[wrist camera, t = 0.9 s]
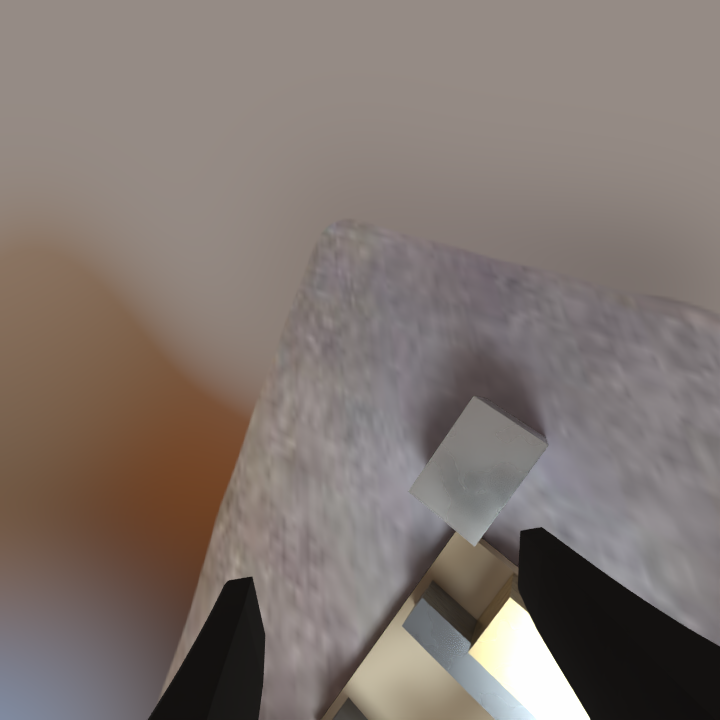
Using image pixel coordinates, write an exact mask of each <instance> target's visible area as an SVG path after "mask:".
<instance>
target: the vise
mask: <svg viewBox="0 0 720 720" xmlns="http://www.w3.org/2000/svg"><path fill="white" fill-rule="evenodd" d="M518 570H519V568H518V567H517V566H516V565H514V564H513V563H512V562H511V561H509V560H508V559H507V558H506V557H504V556H503V555H502V554H501V553H500V552H498V551H497V550H496V549H495V548H493V547H492V546H491V545H490V544H488V543H487V542H486V541H485V540H484V539H482V538H481V539H480V540H479V541H478V543H477V544H476V546H475V547H474V546H473V545H472V544H471V543H470V542H468V541H467V540H466V539H465V538H464V537H462V536H461V535H460V534H459V533H458V532H455V533H454V535H453V536H452V537H451V539H450V540H449V541H448V543H447V544H446V546H445V547H444V548H443V550H442V551H441V553H440V554H439V555H438V557H437V558H436V560H435V561H434V562H433V564H432V565H431V567H430V568H429V569H428V571H427V572H426V574H425V575H424V576H423V578H422V579H421V581H420V582H419V583H418V585H417V586H416V588H415V589H414V590H413V592H412V593H411V595H410V596H409V597H408V599H407V600H406V602H405V603H404V604H403V606H402V607H401V609H400V610H399V611H398V613H397V614H396V616H395V617H394V618H393V620H392V621H391V623H390V624H389V625H388V627H387V628H386V630H385V631H384V632H383V634H382V635H381V637H380V638H379V639H378V641H377V642H376V644H375V645H374V646H373V648H372V649H371V651H370V652H369V653H368V655H367V656H366V658H365V659H364V660H363V662H362V663H361V664H360V666H359V667H358V669H357V670H356V671H355V673H354V674H353V676H352V677H351V678H350V680H349V681H348V683H347V684H346V685H345V687H344V688H343V690H342V691H341V692H340V694H339V695H338V697H337V698H336V699H335V701H334V702H333V704H332V705H331V706H330V708H329V709H328V711H327V712H326V713H325V715H324V716H323V718H322V719H321V720H495V719H494V718H493V717H492V716H491V715H490V714H489V713H488V712H487V711H486V710H485V709H484V708H483V707H482V706H481V705H480V704H479V703H478V702H477V701H476V700H475V699H474V698H473V697H472V696H471V695H470V694H469V693H468V692H467V691H466V690H465V689H464V688H463V687H462V686H461V685H460V684H459V683H458V682H457V681H456V680H455V679H454V678H453V677H452V676H451V675H450V674H449V673H448V672H447V671H446V670H445V669H444V668H443V667H442V666H441V665H440V664H439V663H438V662H437V661H436V660H435V659H434V658H433V657H432V656H431V655H430V654H429V653H428V652H427V651H426V650H425V649H424V648H423V647H422V646H421V645H420V644H419V643H418V642H417V641H416V640H415V639H414V638H413V637H412V636H411V635H410V634H409V633H408V632H407V631H406V630H405V629H404V628H403V627H402V625H403V623H404V622H405V620H406V618H407V617H408V615H409V613H410V612H411V610H412V609H413V607H414V605H415V604H416V603H417V601H418V600H419V598H420V597H421V596H422V594H423V593H424V592H425V590H426V589H427V587H428V586H429V585H430V583H431V582H432V580H433V581H434V582H436V583H437V584H438V585H439V586H440V587H441V588H442V589H443V590H444V591H445V592H446V593H448V594H449V595H450V596H451V597H452V598H453V599H454V600H455V601H456V602H457V603H459V604H460V605H461V606H462V607H463V608H464V609H465V610H466V611H467V612H468V613H470V614H471V615H472V616H473V617H474V618H475V619H476V620H478V619H479V617H480V616H481V615H482V613H483V612H484V611H485V609H486V608H487V607H488V605H489V604H490V603H491V601H492V600H493V599H494V597H495V596H496V595H497V593H498V592H499V591H500V589H501V588H502V587H503V585H504V584H505V583H506V581H507V580H508V579H509V577H510V576H511V575H512V573H513V572H514V573H515V574H517V575H518ZM589 720H590V719H589Z"/></svg>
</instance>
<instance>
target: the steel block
mask: <svg viewBox="0 0 720 720" xmlns="http://www.w3.org/2000/svg"><path fill="white" fill-rule="evenodd" d="M547 447H548V442H547V439H546V437H544V436H543V435H541V434H540V433H538V432H537V431H535V430H534V429H532V428H531V427H529V426H527V425H526V424H524V423H523V422H521V421H520V420H518V419H517V418H515V417H514V416H512V415H511V414H509V413H508V412H506V411H505V410H503V409H502V408H500V407H498V406H497V405H495V404H494V403H492V402H491V401H489V400H488V399H486V398H484V397H478V396H473V397H472V399H471V400H470V402H469V403H468V405H467V406H466V408H465V409H464V411H463V412H462V414H461V415H460V416H459V418H458V419H457V421H456V422H455V424H454V425H453V427H452V428H451V430H450V431H449V433H448V434H447V436H446V437H445V438H444V440H443V441H442V443H441V444H440V446H439V447H438V449H437V450H436V452H435V453H434V455H433V456H432V457H431V459H430V460H429V462H428V463H427V465H426V466H425V468H424V469H423V471H422V472H421V474H420V475H419V476H418V478H417V479H416V481H415V482H414V484H413V485H412V487H411V488H410V490H409V491H408V492H409V493H411V494H412V495H413V496H414V497H415V498H417V499H418V500H419V501H420V502H421V503H423V504H424V505H425V506H426V507H427V508H429V509H430V510H431V511H432V512H433V513H435V514H436V515H437V516H438V517H440V518H441V519H442V520H443V521H444V522H446V523H447V524H448V525H449V526H450V527H452V528H453V529H454V530H455V531H456V532H458V533H459V534H460V535H461V536H462V537H464V538H465V539H466V540H467V541H468V542H470V543H471V544H472V545H473V546H474V547H475V546H476V544H477V543H478V541H479V540H480V539H481V537H482V536H483V535H484V533H485V532H486V530H487V529H488V528H489V526H490V525H491V524H492V522H493V521H494V519H495V518H496V517H497V515H498V514H499V513H500V511H501V510H502V509H503V507H504V506H505V504H506V503H507V502H508V500H509V499H510V498H511V496H512V495H513V493H514V492H515V491H516V489H517V488H518V487H519V485H520V484H521V482H522V481H523V480H524V478H525V477H526V476H527V474H528V473H529V471H530V470H531V469H532V467H533V466H534V465H535V463H536V462H537V460H538V459H539V458H540V456H541V455H542V454H543V452H544V451H545V449H546V448H547Z"/></svg>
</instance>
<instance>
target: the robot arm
mask: <svg viewBox="0 0 720 720" xmlns="http://www.w3.org/2000/svg"><path fill="white" fill-rule="evenodd" d="M518 591H519V593H520V595H521V597H522V600H523V602H524V604H525V606H526V608H527V611H528V613H529V615H530V617H531V619H532V621H533V623H534V625H535V627H536V629H537V631H538V633H539V635H540V636H541V638H542V640H543V641H544V643H545V645H546V646H547V648H548V650H549V651H550V653H551V655H552V657H553V658H554V660H555V662H556V663H557V665H558V667H559V668H560V670H561V672H562V673H563V675H564V677H565V678H566V680H567V682H568V683H569V685H570V687H571V688H572V690H573V692H574V693H575V695H576V697H577V698H578V700H579V702H580V703H581V705H582V706H583V708H584V710H585V711H586V713H587V715H588V716H589V718H590V720H720V646H718V645H716V644H714V643H713V642H711V641H709V640H708V639H706V638H704V637H702V636H701V635H699V634H697V633H695V632H694V631H692V630H690V629H689V628H687V627H685V626H684V625H682V624H680V623H679V622H677V621H676V620H674V619H672V618H671V617H669V616H668V615H666V614H665V613H663V612H662V611H660V610H658V609H657V608H655V607H654V606H652V605H651V604H649V603H648V602H646V601H644V600H643V599H642V598H640V597H639V596H637V595H636V594H634V593H633V592H631V591H630V590H628V589H627V588H625V587H624V586H622V585H621V584H619V583H618V582H617V581H615V580H614V579H612V578H611V577H609V576H608V575H607V574H605V573H604V572H602V571H601V570H600V569H598V568H597V567H595V566H594V565H593V564H591V563H590V562H589V561H587V560H586V559H585V558H583V557H582V556H580V555H579V554H578V553H576V552H575V551H574V550H572V549H571V548H570V547H568V546H567V545H565V544H564V543H563V542H561V541H560V540H559V539H557V538H556V537H555V536H553V535H552V534H551V533H549V532H548V531H546V530H545V529H544V528H542V527H540V528H534V529H529V530H523V531H520V551H519V570H518ZM264 655H265V632H264V627H263V623H262V618H261V614H260V609H259V605H258V600H257V595H256V591H255V586H254V582H253V577H247V578H241V579H235V580H229V581H227V583H226V584H225V585H224V587H223V589H222V591H221V593H220V595H219V597H218V599H217V601H216V603H215V605H214V607H213V609H212V611H211V613H210V615H209V617H208V618H207V620H206V622H205V624H204V626H203V628H202V630H201V631H200V633H199V635H198V637H197V639H196V641H195V642H194V644H193V646H192V648H191V649H190V651H189V653H188V655H187V656H186V658H185V660H184V662H183V663H182V665H181V667H180V668H179V670H178V672H177V674H176V675H175V677H174V679H173V680H172V682H171V683H170V685H169V687H168V688H167V690H166V691H165V693H164V695H163V696H162V698H161V699H160V701H159V703H158V704H157V706H156V707H155V709H154V711H153V712H152V714H151V716H150V717H149V719H148V720H258V718H259V710H260V703H261V696H262V688H263V676H264Z"/></svg>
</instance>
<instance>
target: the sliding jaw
mask: <svg viewBox="0 0 720 720" xmlns="http://www.w3.org/2000/svg"><path fill="white" fill-rule="evenodd" d="M402 627H403V628H404V629H405V630H406V631H407V632H408V633H409V634H410V635H411V636H412V637H413V638H414V639H415V640H416V641H417V642H418V643H419V644H420V645H421V646H422V647H423V648H424V649H425V650H426V651H427V652H428V653H429V654H430V655H431V656H432V657H433V658H434V659H435V660H436V661H437V662H438V663H439V664H440V665H441V666H442V667H443V668H444V669H445V670H446V671H447V672H448V673H449V674H450V675H451V676H452V677H453V678H454V679H455V680H456V681H457V682H458V683H459V684H460V685H461V686H462V687H463V688H464V689H465V690H466V691H467V692H468V693H469V694H470V695H471V696H472V697H473V698H474V699H475V700H476V701H477V702H478V703H479V704H480V705H481V706H482V707H483V708H484V709H485V710H486V711H487V712H488V713H489V714H490V715H491V716H492V717H493V718H494V719H495V720H589V719H590V718H589V716H588V715H587V713H586V711H585V710H584V708H583V706H582V705H581V703H580V702H579V700H578V698H577V697H576V695H575V693H574V692H573V690H572V688H571V687H570V685H569V683H568V682H567V680H566V678H565V677H564V675H563V673H562V672H561V670H560V668H559V667H558V665H557V663H556V662H555V660H554V658H553V657H552V655H551V653H550V651H549V650H548V648H547V646H546V645H545V643H544V641H543V640H542V638H541V636H540V635H539V633H538V631H537V629H536V627H535V625H534V623H533V621H532V619H531V617H530V615H529V613H528V611H527V608H526V606H525V604H524V602H523V600H522V597H521V595H520V593H519V591H518V575H517V574H515V573H514V572H513V573H512V575H511V576H510V577H509V579H508V580H507V581H506V583H505V584H504V585H503V587H502V588H501V589H500V591H499V592H498V593H497V595H496V596H495V597H494V599H493V600H492V601H491V603H490V604H489V605H488V607H487V608H486V609H485V611H484V612H483V613H482V615H481V616H480V617H479V619H478V620H476V619H475V618H474V617H473V616H472V615H471V614H470V613H468V612H467V611H466V610H465V609H464V608H463V607H462V606H461V605H460V604H459V603H457V602H456V601H455V600H454V599H453V598H452V597H451V596H450V595H449V594H448V593H446V592H445V591H444V590H443V589H442V588H441V587H440V586H439V585H438V584H437V583H436V582H434V581H433V580H432V582H431V583H430V585H429V586H428V587H427V589H426V590H425V592H424V593H423V594H422V596H421V597H420V598H419V600H418V601H417V603H416V604H415V605H414V607H413V609H412V610H411V612H410V613H409V615H408V617H407V618H406V620H405V622H404V623H403V625H402Z"/></svg>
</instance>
